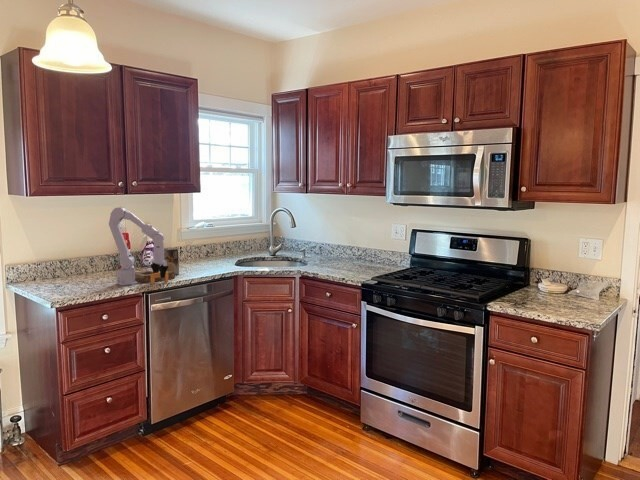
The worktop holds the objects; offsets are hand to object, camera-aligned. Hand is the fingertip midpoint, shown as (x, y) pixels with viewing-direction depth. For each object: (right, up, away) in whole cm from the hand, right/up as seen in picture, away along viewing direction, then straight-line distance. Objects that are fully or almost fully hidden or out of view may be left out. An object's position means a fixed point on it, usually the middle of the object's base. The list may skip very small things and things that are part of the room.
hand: (159, 276), depth 274 cm
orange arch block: (0, -4, 0) cm, 3 cm away
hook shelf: (-7, -2, +11) cm, 14 cm away
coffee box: (-2, -1, +28) cm, 28 cm away
